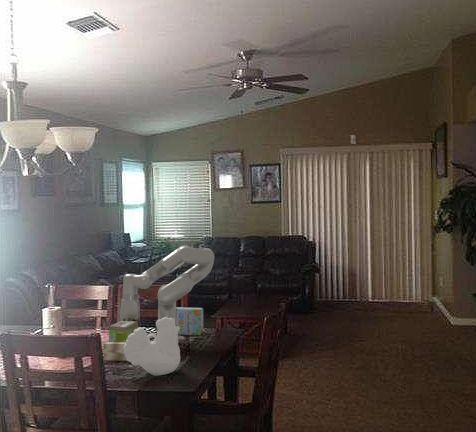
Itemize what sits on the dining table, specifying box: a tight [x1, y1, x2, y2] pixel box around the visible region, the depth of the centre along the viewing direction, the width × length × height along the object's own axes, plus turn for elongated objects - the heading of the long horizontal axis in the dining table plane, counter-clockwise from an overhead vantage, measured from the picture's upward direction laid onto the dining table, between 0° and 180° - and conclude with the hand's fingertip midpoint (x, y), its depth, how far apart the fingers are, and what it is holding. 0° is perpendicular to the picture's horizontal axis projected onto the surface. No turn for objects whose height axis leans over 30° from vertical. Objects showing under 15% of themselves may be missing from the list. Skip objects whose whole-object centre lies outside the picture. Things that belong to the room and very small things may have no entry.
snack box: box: [176, 306, 204, 336], centre depth 334 cm, size 21×6×15 cm, turn 77°
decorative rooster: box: [123, 317, 181, 377], centre depth 256 cm, size 25×16×25 cm, turn 99°
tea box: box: [108, 320, 139, 342], centre depth 294 cm, size 15×10×15 cm, turn 168°
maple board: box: [102, 341, 127, 361], centre depth 280 cm, size 12×3×8 cm, turn 87°
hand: (129, 331), depth 309 cm, fingers closed
